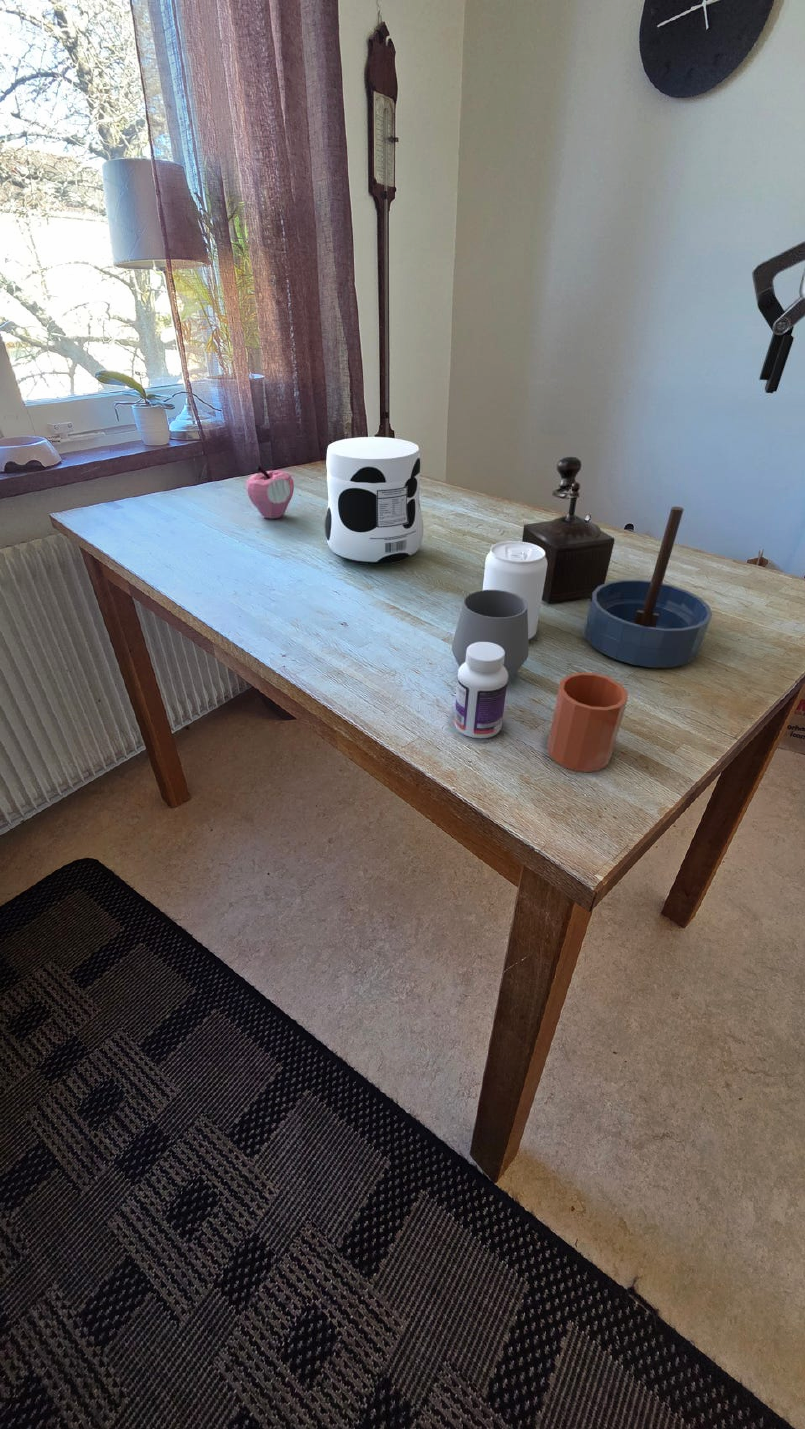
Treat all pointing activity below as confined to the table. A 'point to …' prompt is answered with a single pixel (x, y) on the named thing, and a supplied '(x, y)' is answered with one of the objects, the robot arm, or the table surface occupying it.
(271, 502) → the apple
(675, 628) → the bowl
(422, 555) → the table surface
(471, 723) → the pill bottle
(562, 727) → the utensil pot
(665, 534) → the stirring stick
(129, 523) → the table surface
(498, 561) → the beverage can
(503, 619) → the cup
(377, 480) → the milk container
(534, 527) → the manual coffee grinder
